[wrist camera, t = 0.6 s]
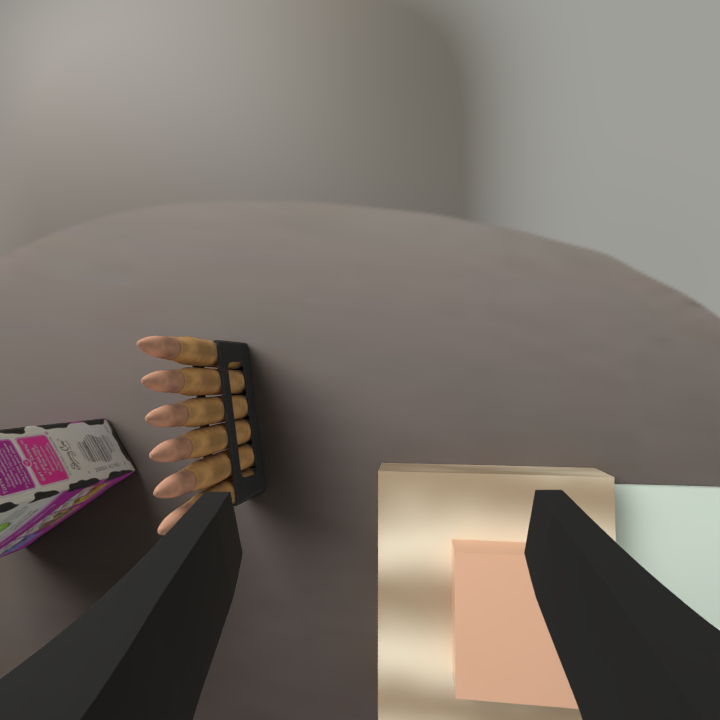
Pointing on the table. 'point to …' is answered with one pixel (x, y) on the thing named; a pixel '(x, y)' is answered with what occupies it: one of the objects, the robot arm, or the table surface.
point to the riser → (434, 572)
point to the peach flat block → (501, 630)
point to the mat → (674, 539)
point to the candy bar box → (54, 475)
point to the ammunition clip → (206, 420)
